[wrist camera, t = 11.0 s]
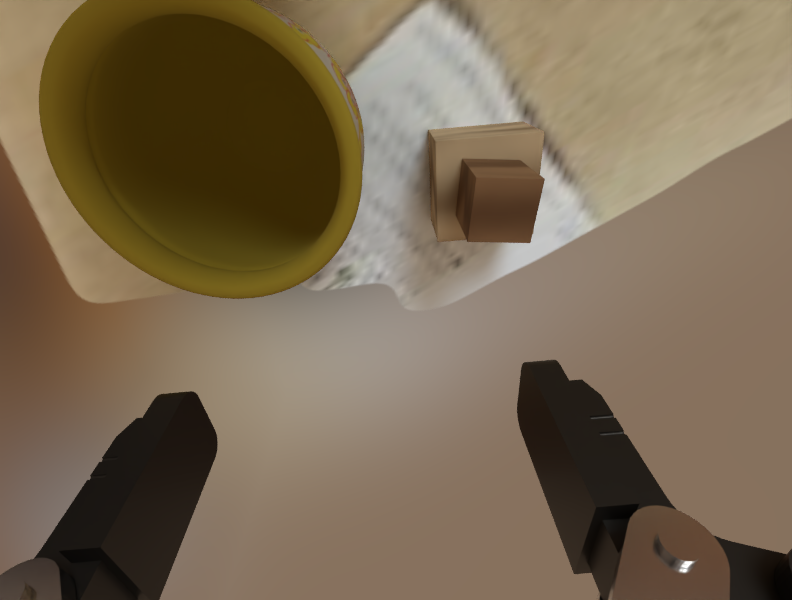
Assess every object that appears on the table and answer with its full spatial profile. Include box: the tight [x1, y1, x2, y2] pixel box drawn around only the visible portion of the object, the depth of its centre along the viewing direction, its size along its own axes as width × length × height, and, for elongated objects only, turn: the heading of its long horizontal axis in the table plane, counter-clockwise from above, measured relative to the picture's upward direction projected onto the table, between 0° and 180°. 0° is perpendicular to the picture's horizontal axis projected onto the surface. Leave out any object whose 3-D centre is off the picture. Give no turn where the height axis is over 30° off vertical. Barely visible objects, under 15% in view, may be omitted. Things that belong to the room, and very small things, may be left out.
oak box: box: [428, 122, 544, 242], centre depth 38 cm, size 9×9×6 cm
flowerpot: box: [39, 0, 364, 299], centre depth 30 cm, size 18×18×16 cm
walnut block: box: [456, 158, 545, 243], centre depth 33 cm, size 5×5×6 cm
